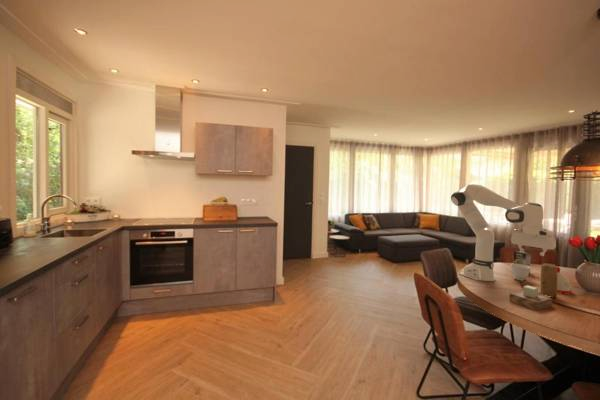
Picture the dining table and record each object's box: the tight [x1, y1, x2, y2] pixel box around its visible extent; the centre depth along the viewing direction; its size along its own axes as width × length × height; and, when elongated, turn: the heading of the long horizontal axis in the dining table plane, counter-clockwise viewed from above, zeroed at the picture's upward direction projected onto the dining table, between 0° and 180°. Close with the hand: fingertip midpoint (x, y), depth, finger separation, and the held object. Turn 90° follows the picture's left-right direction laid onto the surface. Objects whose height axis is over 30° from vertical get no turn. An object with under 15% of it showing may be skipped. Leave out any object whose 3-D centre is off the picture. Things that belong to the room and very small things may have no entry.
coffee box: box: [513, 250, 532, 274], centre depth 219 cm, size 9×6×16 cm
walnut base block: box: [509, 289, 553, 311], centre depth 159 cm, size 14×14×5 cm
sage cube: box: [522, 284, 539, 298], centre depth 159 cm, size 5×5×5 cm
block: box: [540, 262, 558, 298], centre depth 170 cm, size 11×8×20 cm
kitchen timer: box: [557, 266, 572, 294], centre depth 181 cm, size 14×14×15 cm
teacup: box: [509, 262, 532, 281], centre depth 203 cm, size 12×15×10 cm
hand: (531, 254), depth 158 cm, fingers open, 8 cm apart
